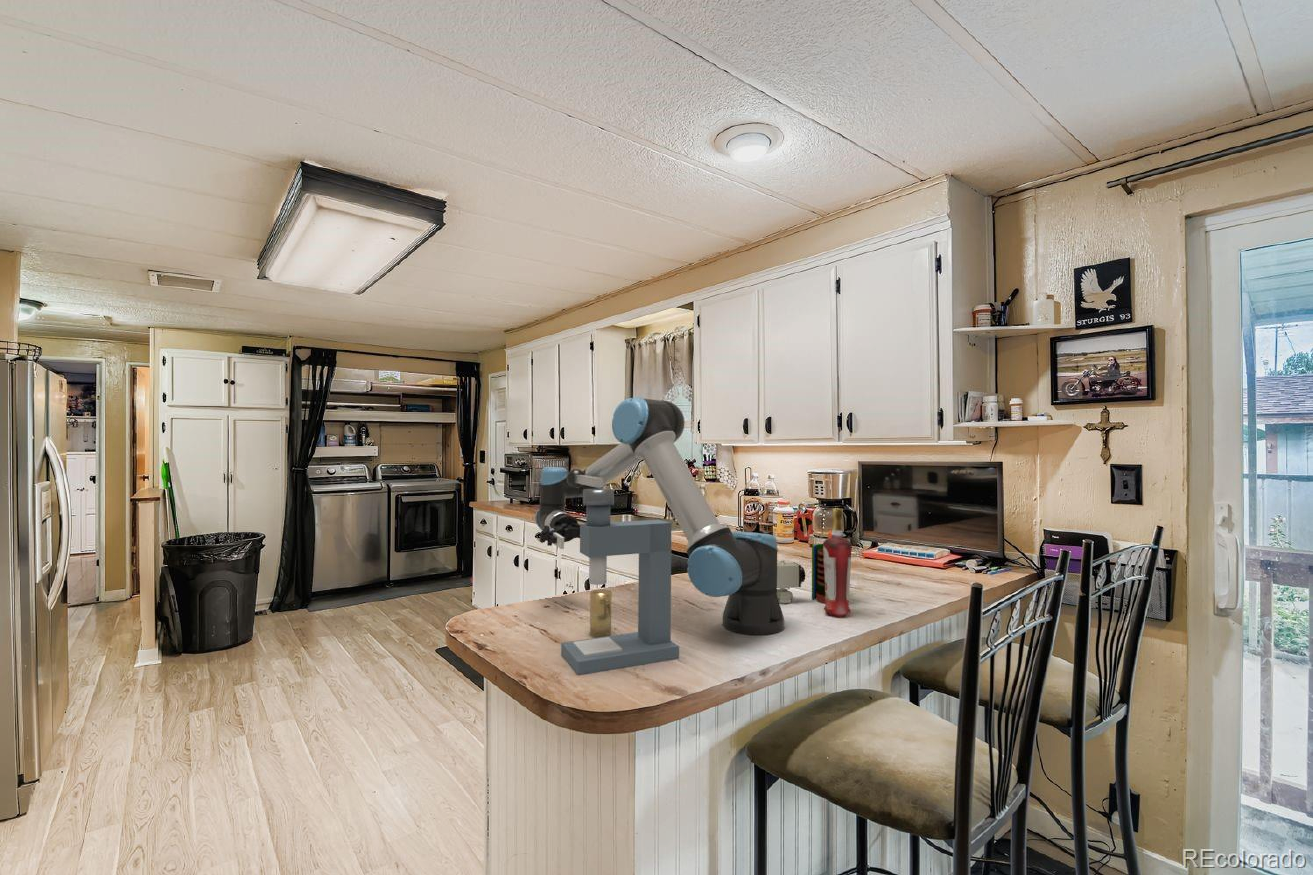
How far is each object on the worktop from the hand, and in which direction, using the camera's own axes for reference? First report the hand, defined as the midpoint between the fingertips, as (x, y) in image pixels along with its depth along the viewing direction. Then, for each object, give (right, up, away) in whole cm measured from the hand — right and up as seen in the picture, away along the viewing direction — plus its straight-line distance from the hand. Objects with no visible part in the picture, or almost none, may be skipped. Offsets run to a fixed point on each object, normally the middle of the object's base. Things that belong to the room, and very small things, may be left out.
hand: (588, 542), depth 145 cm
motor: (+67, -21, +24) cm, 74 cm away
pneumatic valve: (+53, -21, +22) cm, 61 cm away
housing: (+4, -20, -8) cm, 22 cm away
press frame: (+9, -20, -22) cm, 31 cm away
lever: (+2, +12, -17) cm, 21 cm away
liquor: (+65, -21, +10) cm, 69 cm away
